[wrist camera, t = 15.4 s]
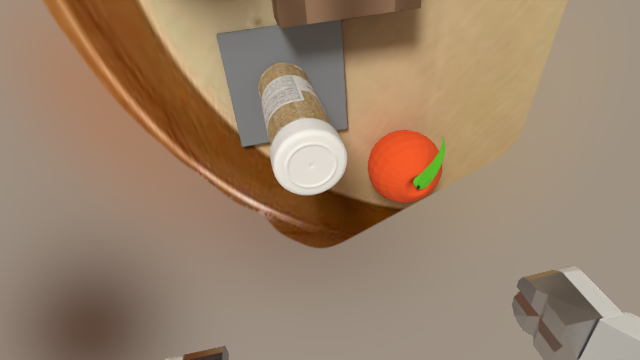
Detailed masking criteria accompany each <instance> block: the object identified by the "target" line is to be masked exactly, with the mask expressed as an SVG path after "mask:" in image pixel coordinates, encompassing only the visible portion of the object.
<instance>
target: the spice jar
mask: <svg viewBox="0 0 640 360" xmlns="http://www.w3.org/2000/svg"><path fill="white" fill-rule="evenodd" d="M258 92H259V96H260V98H261V100H262V109H263V114H264V119H265V125H266V130H267V134H268V138H269V140H270V144H271V149H270V158H271V163H272V168H273V172H274V174H275V177H276V179H277V180H278V182H279V183H280V184H281V185H282V186H283V187H284V188H285V189H287V190H288V191H290V192H292V193H295V194H299V195H314V194H319V193H322V192H324V191H326V190H328V189H330V188H331V187H333V186H334V185H335V184H336V183H337V182H338V181H339V180H340V179H341V177H342V176H343V174H344V172H345V169H346V166H347V152H346V148H345V146H344V144H343V142H342V140H341V138H340V136H339V134H338V132H337V131H336V130H335V129H334V128H333V127H332V126H331V125H330V123H329V121H328V119H327V117H326V114H325V111H324V109H323V107H322V105H321V103H320V101H319V99H318V97H317V95H316V93H315V91H314V89H313V87H312V86H311V84H310V81H309V78H308V76H307V74H306V73H305V72H304V70H303V69H302V68H300V67H299V66H297V65H295V64H293V63H287V62H282V63H276V64H274V65H272V66H270V67H269V68H267V69H266V70H265V71H264V73H263V74H262V75H261V78H260V80H259V84H258Z"/></svg>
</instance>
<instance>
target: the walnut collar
mask: <svg viewBox="0 0 640 360" xmlns="http://www.w3.org/2000/svg"><path fill="white" fill-rule="evenodd" d="M272 5H273V12H274V17H275V19H276V21H277V23H278V25H279V27H280V28H285V27H292V26H299V25H306V24H313V23H320V22H327V21H334V20H341V19H347V18H354V17H361V16H368V15H375V14H382V13H389V12H396V11H403V10H410V9H417V8H421V0H272Z"/></svg>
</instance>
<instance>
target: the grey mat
mask: <svg viewBox="0 0 640 360" xmlns="http://www.w3.org/2000/svg"><path fill="white" fill-rule="evenodd" d="M217 39H218V44H219V48H220V52H221V57H222V61H223V65H224V70H225V74H226V78H227V83H228V87H229V91H230V96H231V100H232V104H233V109H234V113H235V118H236V122H237V126H238V131H239V135H240V139H241V144H242V147H244V146H250V145H256V144H261V143H267V142H270V140H269V138H268V134H267V130H266V125H265V119H264V114H263V109H262V100H261V98H260V96H259V92H258V84H259V80H260V78H261V75H262V74H263V73H264V71H265V70H266V69H267V68H269V67H270V66H272V65H274V64H276V63H282V62H287V63H293V64H295V65H297V66H299V67H300V68H302V69H303V70H304V72H305V73H306V74H307V76H308V78H309V81H310V84H311V86H312V87H313V89H314V91H315V93H316V95H317V97H318V99H319V101H320V103H321V105H322V107H323V109H324V111H325V114H326V117H327V119H328V121H329V123H330V125H331V126H332V127H333V128H334V129H335V130H341V129H347V112H346V94H345V77H344V59H343V42H342V25H341V20H334V21H327V22H320V23H313V24H306V25H299V26H292V27H285V28H280V27H279V25H276V26H269V27H262V28H255V29H248V30H241V31H234V32H227V33H220V34H217Z"/></svg>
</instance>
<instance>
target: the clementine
mask: <svg viewBox="0 0 640 360" xmlns="http://www.w3.org/2000/svg"><path fill="white" fill-rule="evenodd" d="M442 138H443V136H442ZM444 154H445V142H444V138H443V144H442V146H441V149H440V151H438V149H437V148H436V146H435V144H434V143H433V142H432V141H431V140H430V139H429V138H427V137H426V136H424V135H422V134H420V133H419V132H414V131H408V130H400V131H395V132H392V133H389V134H388V135H386V136H384V137H383V138H382V139H380V140H379V141H378V142H377V143H376V145H375V146H374V147H373V149H372V151H371V153H370V156H369V161H368V172H369V177H370V180H371V182H372V184H373V186H374V187H375V189H376V190H377V191H378V192H379V193H380V194H381V195H383V196H384V197H386V198H388V199H390V200H392V201H395V202H401V203H407V202H415V201H418V200H420V199H422V198H424V197H426V196H427V195H428V194H430V193H431V192H432V191H433V189H434V188H435V187H436V185H437V183H438V181H439V179H440V177H441V172H442V161H443V158H444Z"/></svg>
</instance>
